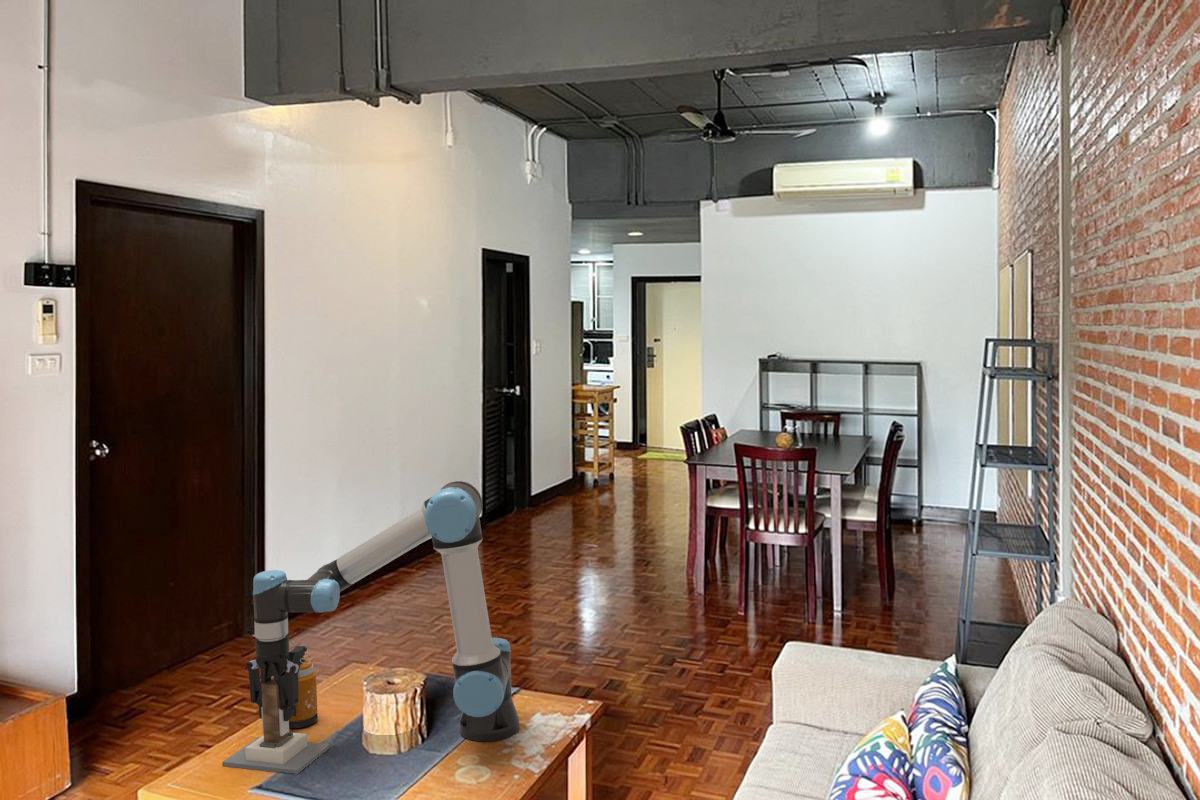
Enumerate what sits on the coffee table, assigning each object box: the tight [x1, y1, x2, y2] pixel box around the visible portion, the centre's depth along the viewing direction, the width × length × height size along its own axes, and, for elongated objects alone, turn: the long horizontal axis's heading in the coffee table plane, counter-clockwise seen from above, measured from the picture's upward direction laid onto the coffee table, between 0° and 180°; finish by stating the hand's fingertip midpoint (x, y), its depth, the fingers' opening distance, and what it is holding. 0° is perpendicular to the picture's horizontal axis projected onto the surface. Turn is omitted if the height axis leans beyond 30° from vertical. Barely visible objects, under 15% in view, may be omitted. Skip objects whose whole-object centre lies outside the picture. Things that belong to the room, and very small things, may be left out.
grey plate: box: [221, 731, 331, 775], centre depth 225 cm, size 20×14×5 cm
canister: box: [286, 645, 319, 729], centre depth 243 cm, size 9×11×20 cm
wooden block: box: [261, 677, 288, 743], centre depth 224 cm, size 4×4×14 cm
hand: (275, 732), depth 224 cm, fingers closed on wooden block, 4 cm apart
